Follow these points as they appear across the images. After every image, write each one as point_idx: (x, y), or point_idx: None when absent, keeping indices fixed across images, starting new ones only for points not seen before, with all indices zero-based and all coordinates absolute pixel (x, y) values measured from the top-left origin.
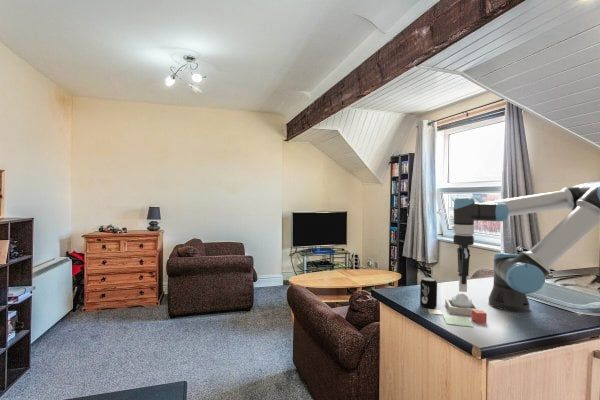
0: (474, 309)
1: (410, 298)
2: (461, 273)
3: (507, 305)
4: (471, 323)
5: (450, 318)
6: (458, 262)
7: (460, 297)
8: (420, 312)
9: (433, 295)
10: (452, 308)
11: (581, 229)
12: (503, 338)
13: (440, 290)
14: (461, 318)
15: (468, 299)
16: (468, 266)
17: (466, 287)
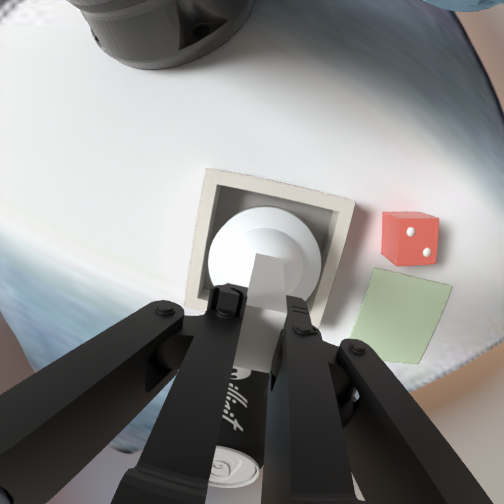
0: (347, 226)
1: None
2: (339, 406)
3: (238, 15)
4: (430, 282)
5: (380, 340)
6: (114, 434)
7: (291, 291)
8: None
9: (266, 406)
10: (318, 320)
11: None
12: None
13: (12, 232)
14: (383, 299)
15: (288, 238)
16: (430, 428)
17: (283, 273)
